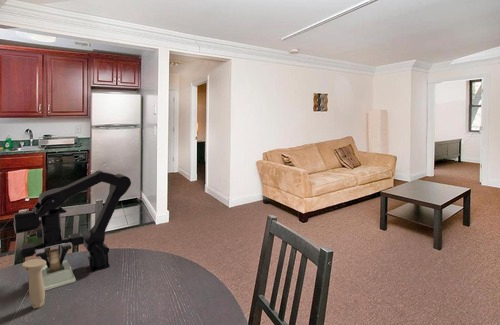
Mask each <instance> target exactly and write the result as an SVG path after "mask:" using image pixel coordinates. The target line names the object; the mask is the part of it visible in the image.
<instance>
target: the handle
mask: <svg viewBox="0 0 500 325" xmlns="http://www.w3.org/2000/svg"><path fill="white" fill-rule="evenodd" d="M21 265H22V269H23V270H24V271H26V272H28V293H29V300H30V303H31V306H32V308H33V309H39V308H42V307H43V306H44V305H45V298H46V294H45V293H46V290H45V289H44V282H43V277H42V268H44V267H45V266H46V261H45V260H43V259H42V258H34V259H32V258H31V259H29V260H25V261H24V262H23V263H22V264H21Z"/></svg>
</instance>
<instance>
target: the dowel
mask: <svg viewBox="0 0 500 325" xmlns="http://www.w3.org/2000/svg"><path fill="white" fill-rule="evenodd" d="M47 258H48V261H49V266H50V268H49V269H50V273H53V272H57V271H60V270H61V266H60V249H59V248H53V249H49V250H48V251H47Z"/></svg>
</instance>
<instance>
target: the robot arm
mask: <svg viewBox="0 0 500 325" xmlns="http://www.w3.org/2000/svg"><path fill="white" fill-rule="evenodd" d="M100 183H106V184H108V185H109V187H108V188H109V190H108V195H107V197H106V199H105V201H104V203H103V206H102V207H101V210H100V212H99V214H98V216H97V218H96V221H95V223H94V224H93V227H91V229H88V228H86V229H85V231H84V235H82V234H81V233H80V232H77V233H72V234H69V235H68V238H67V237H66V238H63V234H62V233H63V232H62V223H61V222H62V221H61V214H65V213H67V210H66V209H65V208H64V207H62V206H63V204H64V203H66V202H67V201H68V200H69V199H70V198H72V197H73V196H75V195H78V194H79V193H81V192H83V191H86V190H88V189H90V188H91V187H94V186H96V185H98V184H100ZM131 185H132V181H131V178H130V177H128V176H127V175H124V174H121V173H116V174H113V173H110V172H106V171H103V170H99V169H98V170H95V172H93V173H91V174H89V175H86V176H84V177H82V178H80V179H78V180H76V181H73V182H71V183H70V184H67V185H65V186H61V187H55V188H52V189H49V190H46V191H43V192H41V193H40V194H39V196H38V199H37V202H36V203H35V205H34V206H33V207H32V209H31V211H24V212H16V213H13V227H14V228H13V230H14V233H15V235H17V234H22V233H26V232H31V231H35V233H36V234H35V236H36V239H41V241H42V243H40V244H39V243H38V244H35V243H34V241H33V242H30V243H29V242H28V243H24V244H21V245H20V246H19V249H20V252H19V253H20V258H21V259H24V258H29V257H33V256H34V255H35V257H37V258H38V257H39V258H40V259H43V260H45V261H46V265H47V267H48V268H50V266H49V258H48V253H47V251H46V249H50V248H53V247H58V246H59V248H60V249H59V254H60V265H62V263H63V261H65V258H66V255H67V253H68V251H69V250H71V249H72V246H73V247H74V246H75V247H77V246H80V245H83V247H84V248H85V249H86V251H87V252H88V253H89V256H87V261H88V268H89V269H90V270H91V271H92V272H96V271H100V270H102V269H106V268H109V267H111V266H110V263H109V251H110V248H109V246H107V244H106V243H105V239H106V230H107V227H109V226H108V225H109V223H110V221H111V219H112V216H113V214H114V213H115V210H116V209H117V206H118V203H119V202H120V199H121V198H122V197H123V196H124V195H125V194H126V193H127V191H128V190H129V189H130V187H131ZM40 223H41V225H40ZM40 226H41V228H40V229H38V228H39V227H40Z"/></svg>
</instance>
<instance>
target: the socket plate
mask: <svg viewBox="0 0 500 325" xmlns="http://www.w3.org/2000/svg"><path fill="white" fill-rule="evenodd" d="M60 266H61V270H60V271H57V272H53V273H50V269H49V268H48V267H47V265H46V266H45V267H44V268H42V277H43V282H44V289H45V291H47V290H51V289H52V290H53V289H54V288H58V287H62V286H65V285H68V284H72V283H75V282H76V281H77V280H76V277H75V274H74V272H73V270H72V269H73V268H72V267H71V265H70V264H69V261H68V260H67V259H64V260H63V263H62V265H60Z"/></svg>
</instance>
